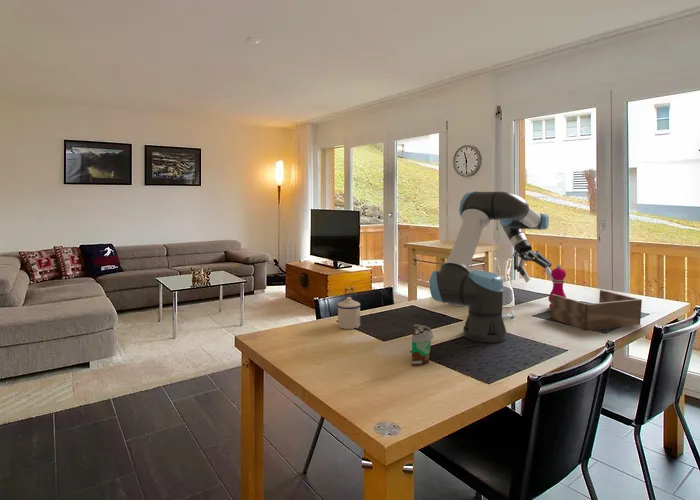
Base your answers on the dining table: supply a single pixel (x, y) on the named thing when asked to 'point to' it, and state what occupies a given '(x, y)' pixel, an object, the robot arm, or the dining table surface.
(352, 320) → the teacup with lid
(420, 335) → the food container
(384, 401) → the dining table surface
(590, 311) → the open-sided box
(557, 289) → the pepper mill
